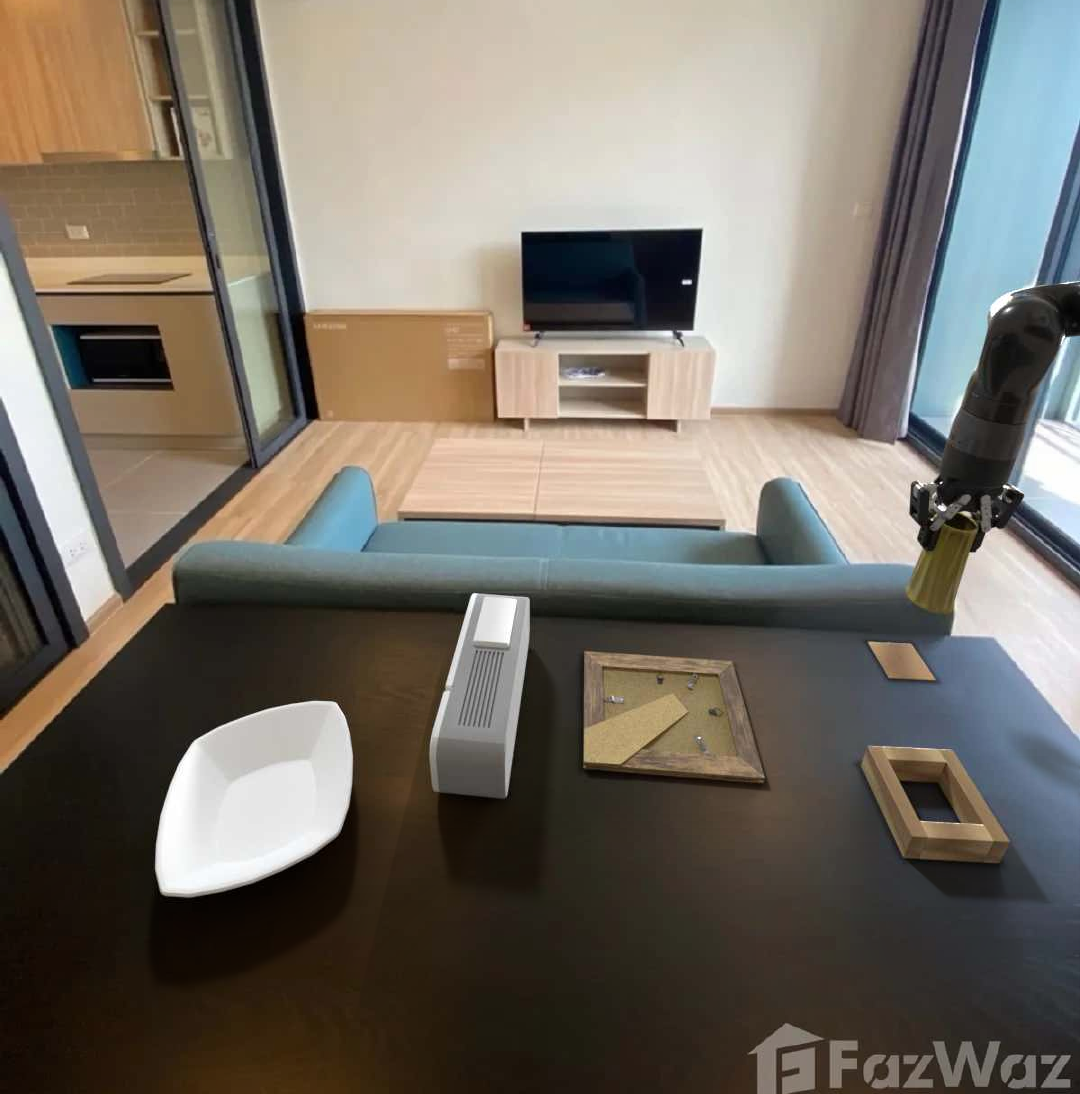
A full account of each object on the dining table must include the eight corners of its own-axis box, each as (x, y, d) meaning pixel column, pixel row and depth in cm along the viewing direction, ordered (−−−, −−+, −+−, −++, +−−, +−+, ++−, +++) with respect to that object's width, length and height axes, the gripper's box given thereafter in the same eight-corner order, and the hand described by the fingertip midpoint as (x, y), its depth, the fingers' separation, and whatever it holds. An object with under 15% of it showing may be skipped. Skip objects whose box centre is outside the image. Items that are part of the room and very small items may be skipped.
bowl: (188, 757, 79) (179, 731, 77) (353, 711, 86) (349, 685, 84) (147, 949, 60) (134, 921, 58) (362, 871, 67) (357, 843, 65)
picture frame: (583, 770, 78) (763, 785, 76) (583, 761, 77) (765, 776, 76) (584, 657, 95) (731, 667, 93) (584, 649, 94) (732, 659, 93)
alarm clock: (475, 637, 99) (472, 582, 94) (529, 642, 98) (529, 587, 93) (433, 805, 74) (427, 742, 69) (505, 813, 73) (504, 750, 68)
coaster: (910, 646, 98) (911, 643, 97) (935, 682, 91) (936, 679, 91) (866, 644, 98) (867, 641, 98) (888, 680, 91) (889, 677, 91)
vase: (936, 584, 89) (963, 507, 83) (963, 614, 83) (993, 533, 78) (896, 584, 89) (921, 506, 83) (920, 614, 83) (948, 533, 78)
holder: (943, 771, 78) (952, 749, 76) (998, 865, 68) (1010, 841, 66) (859, 767, 79) (867, 745, 77) (902, 859, 68) (912, 836, 67)
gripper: (943, 456, 73) (909, 564, 79) (1061, 459, 72) (1017, 567, 79) (911, 429, 80) (881, 530, 86) (1018, 431, 79) (980, 533, 86)
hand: (946, 547), depth 82 cm, fingers closed on vase, 5 cm apart
